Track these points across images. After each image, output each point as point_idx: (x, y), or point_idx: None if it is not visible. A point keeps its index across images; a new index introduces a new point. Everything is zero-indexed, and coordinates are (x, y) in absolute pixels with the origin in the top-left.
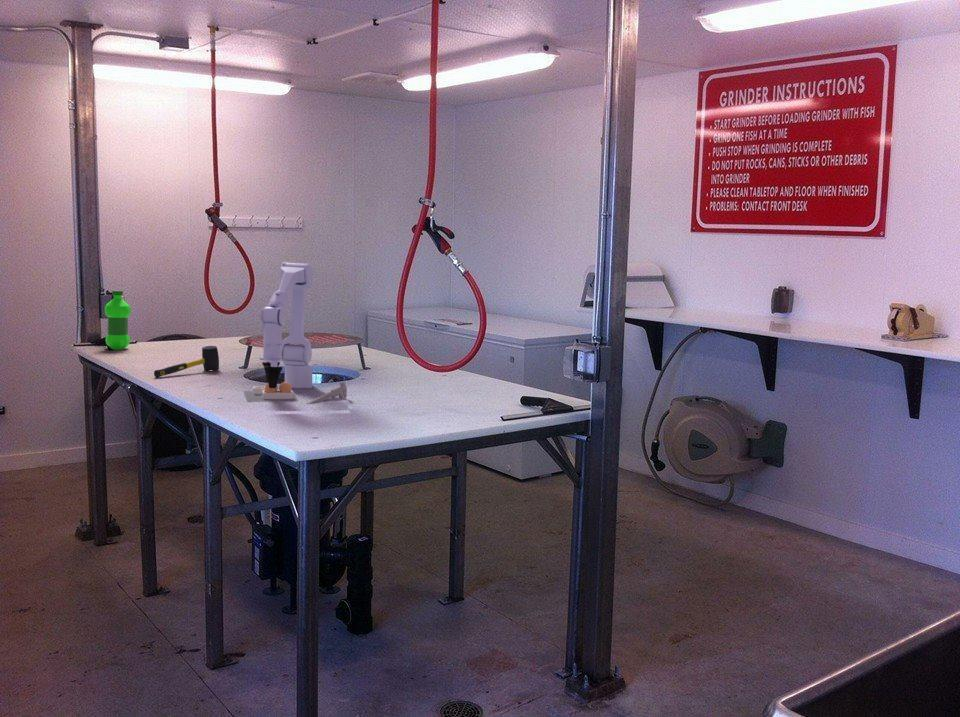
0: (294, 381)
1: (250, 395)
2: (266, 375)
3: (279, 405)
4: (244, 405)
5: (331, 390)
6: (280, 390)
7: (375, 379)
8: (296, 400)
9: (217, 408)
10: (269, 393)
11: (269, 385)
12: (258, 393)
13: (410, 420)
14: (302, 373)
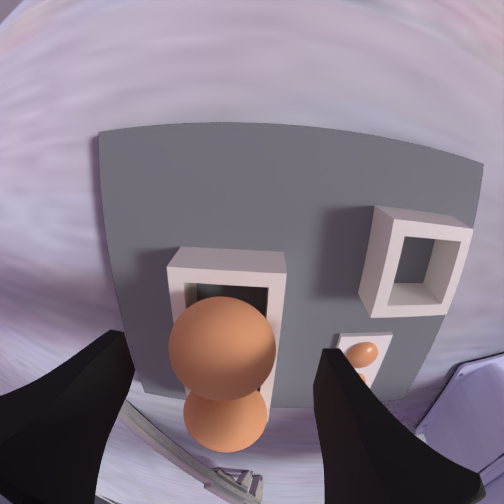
0: (458, 417)
1: (336, 172)
2: (346, 405)
3: (107, 308)
4: (91, 117)
5: (208, 486)
6: None
7: None
8: (157, 390)
9: (51, 7)
10: (172, 308)
11: (96, 341)
12: (371, 241)
13: None
14: (456, 458)
